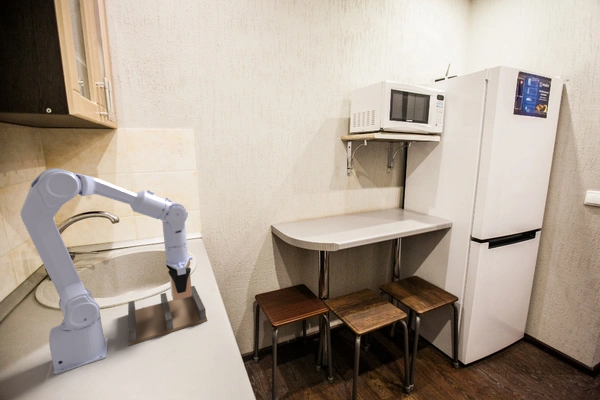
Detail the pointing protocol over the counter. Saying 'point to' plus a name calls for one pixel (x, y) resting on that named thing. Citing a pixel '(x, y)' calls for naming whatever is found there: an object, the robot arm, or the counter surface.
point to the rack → (164, 317)
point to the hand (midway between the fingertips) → (180, 288)
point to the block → (184, 294)
